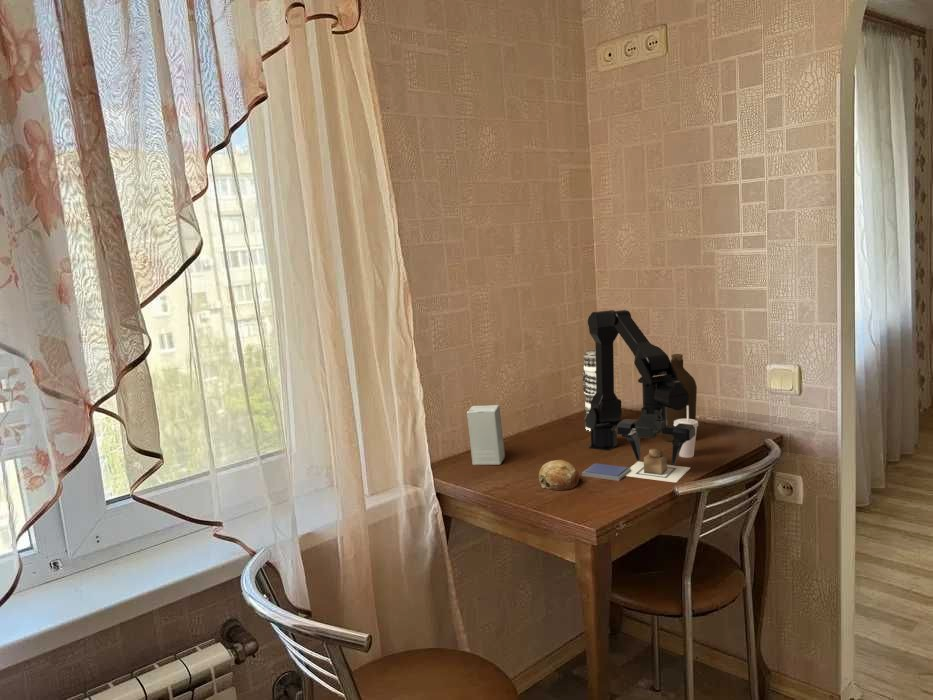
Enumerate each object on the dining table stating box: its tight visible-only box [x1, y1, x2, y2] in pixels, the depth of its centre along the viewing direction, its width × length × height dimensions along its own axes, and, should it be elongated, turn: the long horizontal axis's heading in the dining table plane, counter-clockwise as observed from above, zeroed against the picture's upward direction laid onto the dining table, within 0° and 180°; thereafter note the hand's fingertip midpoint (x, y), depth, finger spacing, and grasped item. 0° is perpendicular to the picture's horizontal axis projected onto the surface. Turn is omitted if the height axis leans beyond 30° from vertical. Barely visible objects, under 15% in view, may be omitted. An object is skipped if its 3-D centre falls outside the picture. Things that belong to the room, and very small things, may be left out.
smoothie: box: [674, 406, 699, 459], centre depth 194 cm, size 6×6×14 cm
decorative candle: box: [581, 349, 596, 432], centre depth 226 cm, size 9×9×25 cm
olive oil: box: [661, 353, 698, 443], centre depth 210 cm, size 11×11×25 cm
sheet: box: [624, 460, 691, 483], centre depth 184 cm, size 14×12×1 cm
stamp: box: [643, 448, 668, 475], centre depth 183 cm, size 4×4×6 cm
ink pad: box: [581, 463, 631, 482], centre depth 185 cm, size 10×8×1 cm
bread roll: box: [538, 459, 580, 491], centre depth 179 cm, size 10×10×8 cm
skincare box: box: [466, 404, 506, 466], centre depth 200 cm, size 8×7×16 cm
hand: (655, 462), depth 183 cm, fingers open, 9 cm apart
